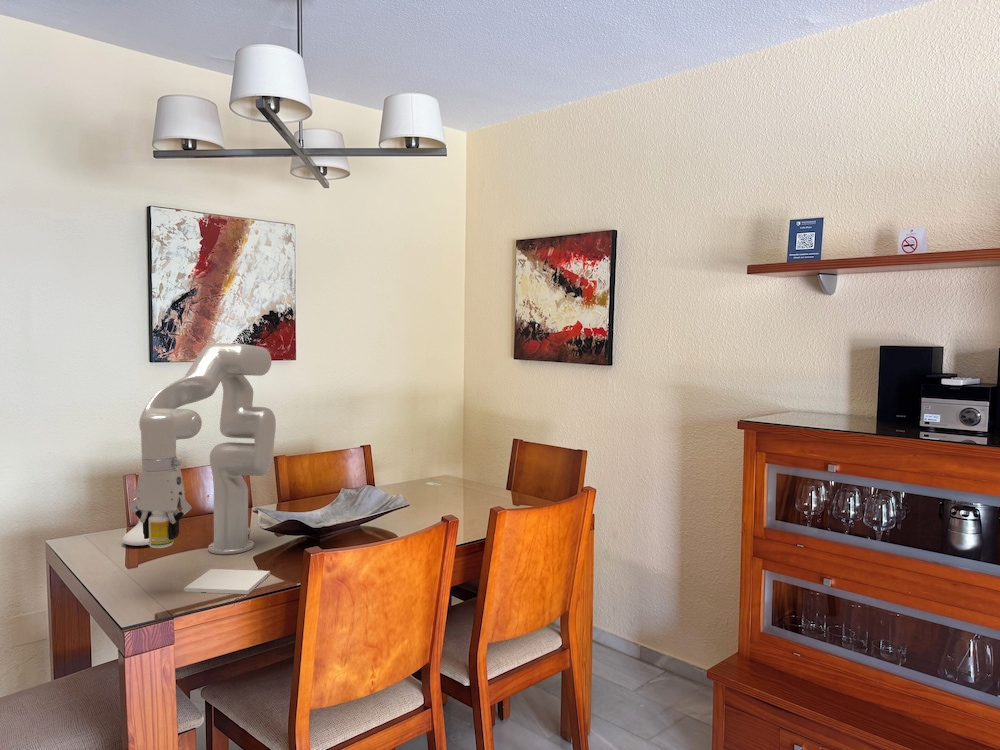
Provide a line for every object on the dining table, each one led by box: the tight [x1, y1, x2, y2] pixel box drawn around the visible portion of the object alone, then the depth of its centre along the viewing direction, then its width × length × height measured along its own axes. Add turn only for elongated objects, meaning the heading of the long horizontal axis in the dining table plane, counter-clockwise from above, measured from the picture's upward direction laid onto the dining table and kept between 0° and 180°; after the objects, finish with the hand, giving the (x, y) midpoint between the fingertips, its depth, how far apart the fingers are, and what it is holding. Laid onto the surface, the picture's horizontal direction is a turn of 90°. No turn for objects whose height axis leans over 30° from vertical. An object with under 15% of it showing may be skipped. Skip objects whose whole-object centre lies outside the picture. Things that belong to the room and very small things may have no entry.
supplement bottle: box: [148, 510, 174, 549], centre depth 168 cm, size 5×5×10 cm
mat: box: [183, 568, 271, 595], centre depth 176 cm, size 14×16×1 cm
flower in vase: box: [121, 497, 149, 547], centre depth 209 cm, size 13×11×25 cm
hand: (161, 536), depth 168 cm, fingers closed on supplement bottle, 5 cm apart
